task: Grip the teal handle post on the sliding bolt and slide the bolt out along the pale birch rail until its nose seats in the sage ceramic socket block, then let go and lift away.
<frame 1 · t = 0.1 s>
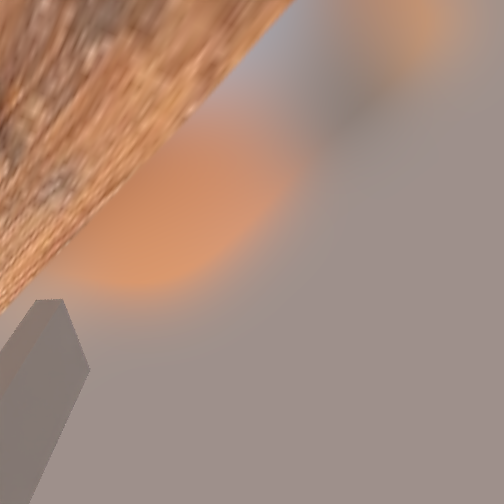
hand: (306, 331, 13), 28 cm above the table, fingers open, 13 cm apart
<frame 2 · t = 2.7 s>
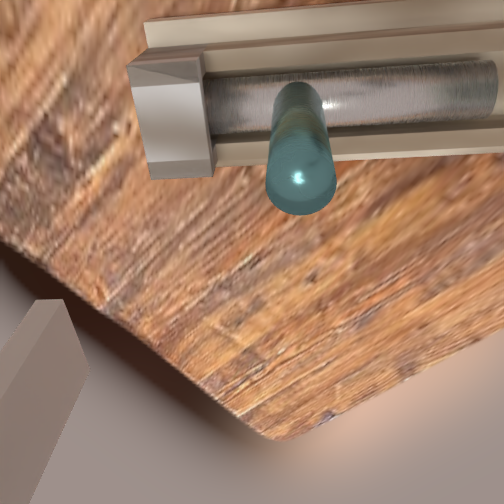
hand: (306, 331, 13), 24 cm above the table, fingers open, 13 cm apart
sliding bolt: (326, 127, 26), point 9 cm above the table, slide at 0.0 cm
rail: (392, 80, 32), on the table
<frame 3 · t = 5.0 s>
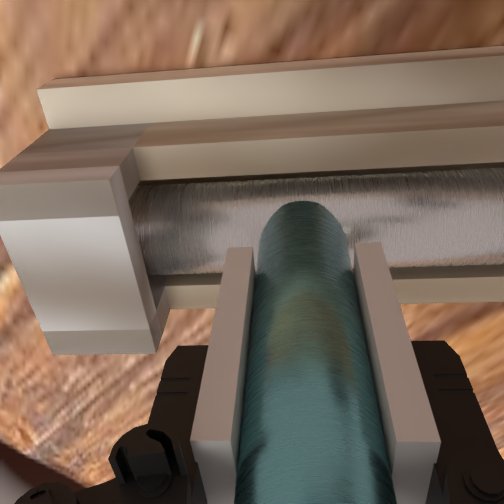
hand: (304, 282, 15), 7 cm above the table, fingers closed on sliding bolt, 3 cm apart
sliding bolt: (360, 316, 13), point 9 cm above the table, slide at 0.0 cm, touching gripper
rail: (456, 175, 20), on the table
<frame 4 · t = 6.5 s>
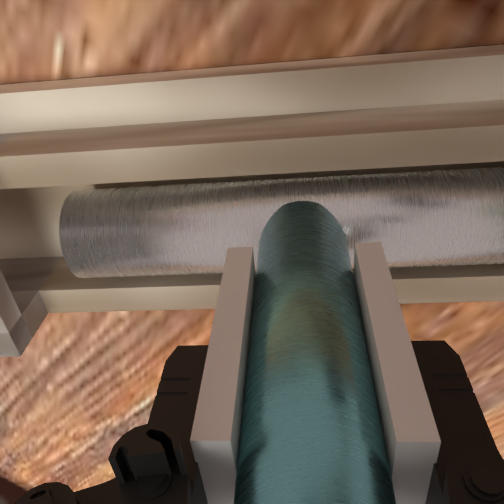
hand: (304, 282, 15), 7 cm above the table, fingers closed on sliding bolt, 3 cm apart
sliding bolt: (360, 316, 13), point 9 cm above the table, slide at 5.3 cm, touching gripper
rail: (327, 181, 20), on the table
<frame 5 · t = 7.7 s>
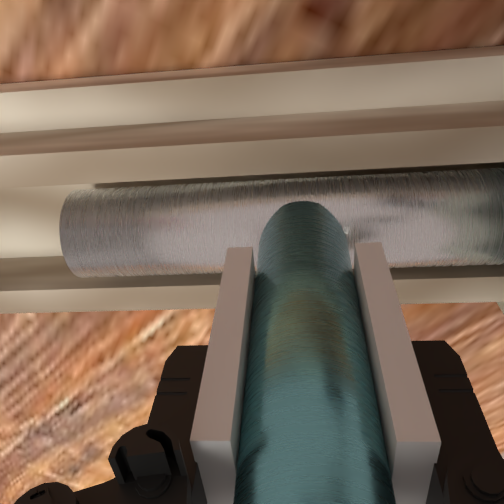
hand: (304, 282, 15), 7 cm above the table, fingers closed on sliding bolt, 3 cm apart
sliding bolt: (360, 316, 13), point 9 cm above the table, slide at 10.6 cm, touching gripper
rail: (207, 188, 21), on the table
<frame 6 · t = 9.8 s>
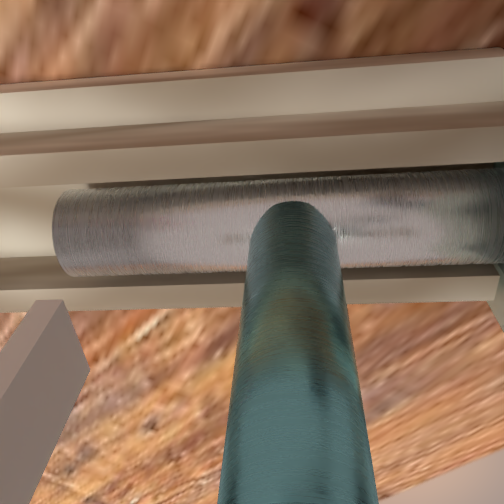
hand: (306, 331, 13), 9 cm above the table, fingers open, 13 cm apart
sliding bolt: (347, 314, 13), point 9 cm above the table, slide at 10.5 cm
rail: (200, 188, 21), on the table
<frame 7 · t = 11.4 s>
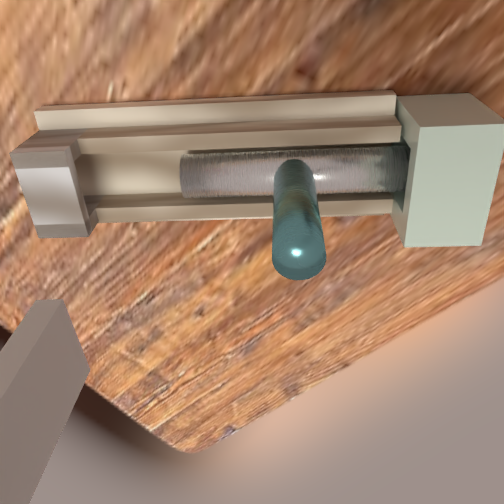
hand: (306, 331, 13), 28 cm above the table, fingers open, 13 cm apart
sliding bolt: (317, 202, 32), point 9 cm above the table, slide at 10.5 cm
rail: (244, 157, 40), on the table
socket: (427, 150, 39), on the table
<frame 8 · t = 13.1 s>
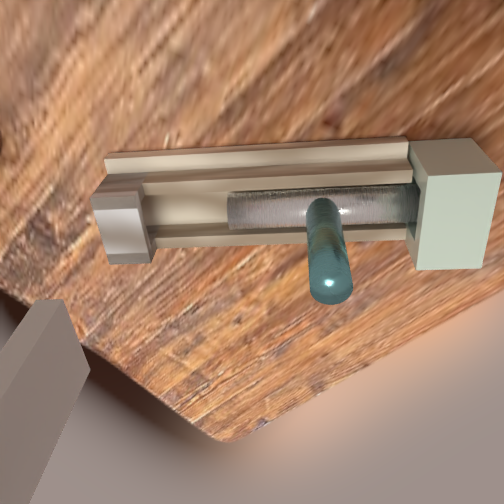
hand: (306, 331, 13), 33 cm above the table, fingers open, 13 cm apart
sliding bolt: (343, 236, 39), point 9 cm above the table, slide at 10.5 cm
rail: (278, 192, 47), on the table
socket: (435, 184, 45), on the table
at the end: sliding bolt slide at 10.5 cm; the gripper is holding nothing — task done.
